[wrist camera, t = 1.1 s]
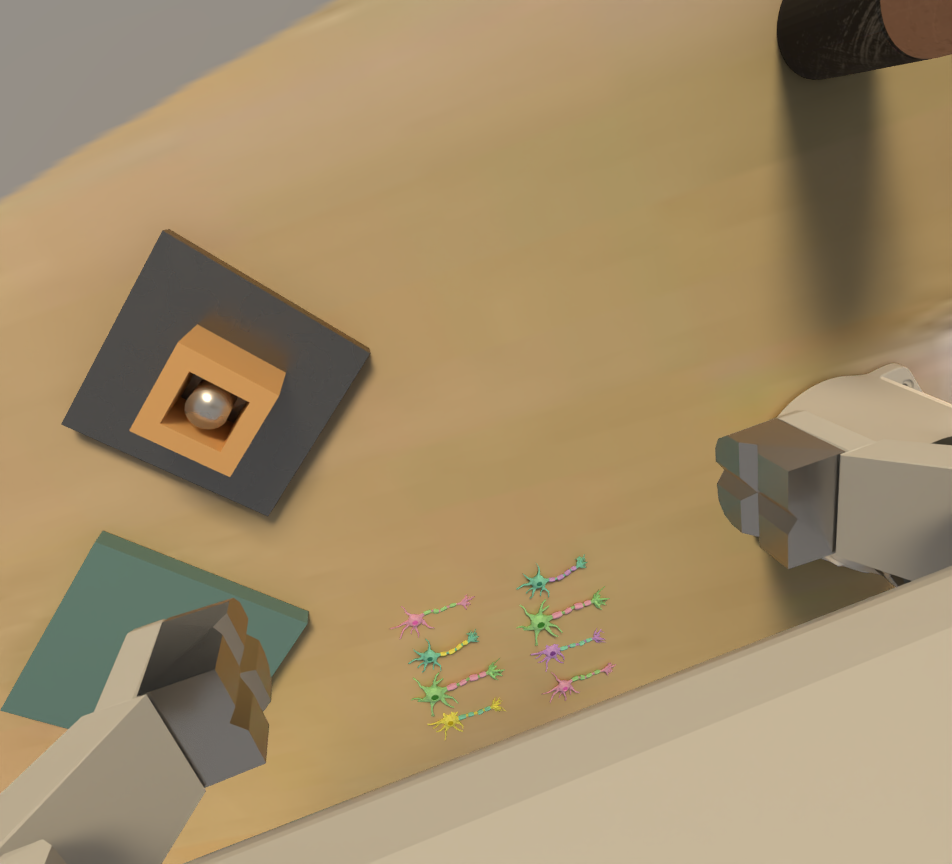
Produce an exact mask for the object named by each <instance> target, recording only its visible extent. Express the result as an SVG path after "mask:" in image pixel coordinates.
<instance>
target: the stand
mask: <svg viewBox="0 0 952 864" xmlns="http://www.w3.org/2000/svg"><path fill="white" fill-rule="evenodd" d="M197 324H198V325H199V326H201V327H203V328H205V329H207V330H209V331H210V332H212V333H214V334H216V335H218V336H219V337H221V338H223V339H225V340H227V341H229V342H230V343H232V344H234V345H236V346H238V347H240V348H241V349H243V350H245V351H247V352H249V353H251V354H252V355H254V356H256V357H258V358H260V359H262V360H263V361H265V362H267V363H269V364H271V365H273V366H274V367H276V368H278V369H280V370H282V371H284V372H285V373H286V374H285V377H284V381H283V384H282V388H281V391H280V395H279V397H278V398H277V400H276V402H275V403H274V405H273V407H272V408H271V410H270V412H269V413H268V415H267V417H266V418H265V420H264V422H263V423H262V425H261V427H260V428H259V430H258V432H257V433H256V435H255V437H254V438H253V440H252V442H251V443H250V445H249V447H248V448H247V450H246V452H245V453H244V455H243V457H242V458H241V460H240V462H239V463H238V465H237V467H236V468H235V470H234V472H233V473H232V475H231V477H228V476H226V475H224V474H222V473H220V472H217V471H215V470H213V469H211V468H209V467H207V466H204V465H202V464H200V463H198V462H196V461H194V460H191V459H189V458H187V457H185V456H183V455H180V454H178V453H176V452H174V451H172V450H170V449H167V448H165V447H163V446H161V445H159V444H157V443H154V442H152V441H150V440H148V439H146V438H143V437H141V436H139V435H137V434H135V433H133V432H130V431H129V430H130V428H131V426H132V424H133V423H134V421H135V419H136V417H137V415H138V414H139V412H140V410H141V408H142V406H143V404H144V403H145V401H146V399H147V397H148V395H149V394H150V392H151V390H152V388H153V386H154V385H155V383H156V381H157V379H158V377H159V375H160V374H161V372H162V370H163V368H164V366H165V365H166V363H167V361H168V359H169V357H170V356H171V354H172V352H173V350H174V348H175V346H176V345H177V343H178V342H179V341H180V340H181V339H182V338H183V337H184V336H185V335H186V334H187V333H188V332H190V331H191V330H192V329H193V328H194V327H195V326H196V325H197ZM369 355H370V350H369V348H368V347H366V346H365V345H363V344H361V343H360V342H358V341H356V340H355V339H353V338H351V337H349V336H348V335H346V334H344V333H343V332H341V331H339V330H338V329H336V328H334V327H333V326H331V325H329V324H328V323H326V322H324V321H323V320H321V319H319V318H318V317H316V316H314V315H313V314H311V313H309V312H307V311H306V310H304V309H302V308H301V307H299V306H297V305H296V304H294V303H292V302H291V301H289V300H287V299H286V298H284V297H282V296H281V295H279V294H277V293H276V292H274V291H272V290H270V289H269V288H267V287H265V286H264V285H262V284H260V283H259V282H257V281H255V280H254V279H252V278H250V277H249V276H247V275H245V274H244V273H242V272H240V271H239V270H237V269H235V268H234V267H232V266H230V265H228V264H227V263H225V262H223V261H222V260H220V259H218V258H217V257H215V256H213V255H212V254H210V253H208V252H207V251H205V250H203V249H202V248H200V247H198V246H197V245H195V244H193V243H192V242H190V241H188V240H186V239H185V238H183V237H181V236H180V235H178V234H176V233H175V232H173V231H171V230H170V229H168V230H163V231H162V233H161V235H160V237H159V238H158V240H157V242H156V244H155V246H154V248H153V250H152V252H151V254H150V256H149V258H148V259H147V261H146V263H145V265H144V267H143V269H142V271H141V273H140V275H139V277H138V279H137V280H136V282H135V284H134V286H133V288H132V290H131V292H130V294H129V296H128V298H127V300H126V302H125V303H124V305H123V307H122V309H121V311H120V313H119V315H118V317H117V319H116V321H115V323H114V324H113V326H112V328H111V330H110V332H109V334H108V336H107V338H106V340H105V342H104V344H103V345H102V347H101V349H100V351H99V353H98V355H97V357H96V359H95V361H94V363H93V365H92V366H91V368H90V370H89V372H88V374H87V376H86V378H85V380H84V382H83V384H82V386H81V387H80V389H79V391H78V393H77V395H76V397H75V399H74V401H73V403H72V405H71V407H70V408H69V410H68V412H67V414H66V416H65V418H64V420H63V422H62V425H64V426H66V427H68V428H71V429H73V430H75V431H77V432H80V433H82V434H84V435H86V436H89V437H91V438H93V439H95V440H98V441H100V442H102V443H104V444H107V445H109V446H111V447H113V448H116V449H118V450H120V451H122V452H125V453H127V454H129V455H131V456H134V457H136V458H138V459H140V460H143V461H145V462H147V463H149V464H152V465H154V466H156V467H158V468H161V469H163V470H165V471H167V472H170V473H172V474H174V475H176V476H179V477H181V478H183V479H185V480H188V481H190V482H192V483H194V484H197V485H199V486H201V487H203V488H206V489H208V490H210V491H212V492H215V493H217V494H219V495H221V496H224V497H226V498H228V499H230V500H233V501H235V502H237V503H239V504H241V505H244V506H246V507H248V508H250V509H253V510H255V511H257V512H259V513H262V514H264V515H266V516H269V514H270V512H271V511H272V509H273V508H274V506H275V504H276V503H277V501H278V500H279V498H280V497H281V495H282V493H283V492H284V490H285V489H286V487H287V485H288V484H289V482H290V481H291V479H292V477H293V476H294V474H295V473H296V471H297V469H298V468H299V466H300V465H301V463H302V461H303V460H304V458H305V457H306V455H307V453H308V452H309V450H310V449H311V447H312V445H313V444H314V442H315V441H316V439H317V437H318V436H319V434H320V433H321V431H322V430H323V428H324V426H325V425H326V423H327V422H328V420H329V418H330V417H331V415H332V414H333V412H334V410H335V409H336V407H337V406H338V404H339V402H340V401H341V399H342V398H343V396H344V394H345V393H346V391H347V390H348V388H349V386H350V385H351V383H352V382H353V380H354V378H355V377H356V375H357V374H358V372H359V370H360V369H361V367H362V366H363V364H364V363H365V361H366V359H367V358H368V356H369ZM181 397H182V398H184V399H186V400H187V401H186V403H185V414H186V416H187V418H188V420H189V421H190V422H191V423H192V424H193V425H195V426H197V427H199V428H202V429H215V428H218V427H220V426H221V425H223V424H224V423H225V422H226V420H228V421H230V422H232V423H234V422H235V420H236V418H237V417H238V415H239V413H240V412H241V410H242V408H243V407H244V405H245V403H246V402H247V401H246V400H244V399H242V398H240V397H238V396H236V395H234V394H232V393H230V392H228V391H226V390H224V389H222V388H221V387H219V386H217V385H215V384H213V383H211V382H209V381H207V380H205V379H203V378H201V377H199V376H197V375H195V374H193V376H192V378H191V379H190V381H189V383H188V385H187V386H186V388H185V390H184V392H183V394H182V395H181Z"/></svg>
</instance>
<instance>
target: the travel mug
mask: <svg viewBox="0 0 952 864" xmlns="http://www.w3.org/2000/svg"><path fill="white" fill-rule="evenodd" d="M777 32H778V41H779V47H780V50H781V53H782V55H783V58H784V60H785V61H786V63H787V65H788V66H789V67H790V68H791V69H792V70H793V71H794V72H795V73H797V74H798V75H800V76H802V77H805V78H808V79H818V80H819V79H827V78H833V77H839V76H844V75H849V74H855V73H860V72H865V71H870V70H876V69H881V68H886V67H891V66H896V65H902V64H907V63H912V62H917V61H923V60H928V59H932V58H938V57H942V56H946V55H950V54H952V0H783V1H782V4H781V7H780V11H779V17H778V29H777Z"/></svg>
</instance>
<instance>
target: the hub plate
mask: <svg viewBox="0 0 952 864" xmlns="http://www.w3.org/2000/svg"><path fill="white" fill-rule="evenodd" d="M231 598H235V599H236V600H238V601H239V602H240V603H241V605H242V607H243V609H244V611H245V613H246V615H247V617H248V625H247V632H246V634H247V635H249V636H251V637H253V638H255V639H257V640H259V641H260V643H261V645H262V648H263V650H264V652H265V655H266V658H267V661H268V664H269V668H270V675H271V677H272V676H273V674H274V673H275V671H276V670H277V668H278V667H279V665H280V664H281V662H282V661H283V659H284V658H285V656H286V655H287V653H288V652H289V650H290V649H291V648H292V646H293V645H294V643H295V642H296V640H297V639H298V637H299V636H300V634H301V633H302V631H303V630H304V628H305V627H306V625H307V624H308V611H306V610H304V609H301V608H298V607H296V606H293V605H291V604H288V603H286V602H283V601H281V600H278V599H276V598H273V597H270V596H268V595H265V594H263V593H260V592H258V591H255V590H253V589H250V588H248V587H245V586H242V585H240V584H237V583H235V582H232V581H230V580H227V579H225V578H222V577H220V576H217V575H214V574H212V573H209V572H207V571H204V570H202V569H199V568H197V567H194V566H192V565H189V564H186V563H184V562H181V561H179V560H176V559H174V558H171V557H169V556H166V555H164V554H161V553H158V552H156V551H153V550H151V549H148V548H146V547H143V546H141V545H138V544H136V543H133V542H130V541H128V540H125V539H123V538H120V537H118V536H115V535H113V534H110V533H108V532H105V531H102V533H101V534H100V536H99V537H98V539H97V540H96V541H95V543H94V545H93V547H92V548H91V550H90V552H89V554H88V555H87V557H86V559H85V561H84V563H83V564H82V566H81V568H80V570H79V571H78V573H77V575H76V577H75V579H74V580H73V582H72V584H71V586H70V587H69V589H68V591H67V593H66V595H65V596H64V598H63V600H62V602H61V603H60V605H59V607H58V609H57V611H56V612H55V614H54V616H53V618H52V619H51V621H50V623H49V625H48V627H47V628H46V630H45V632H44V634H43V635H42V637H41V639H40V641H39V643H38V644H37V646H36V648H35V650H34V651H33V653H32V655H31V657H30V659H29V660H28V662H27V664H26V666H25V667H24V669H23V671H22V673H21V675H20V676H19V678H18V680H17V682H16V683H15V685H14V687H13V689H12V691H11V692H10V694H9V696H8V698H7V699H6V701H5V703H4V705H3V707H2V708H1V710H0V711H4V712H8V713H11V714H15V715H19V716H22V717H26V718H30V719H34V720H37V721H41V722H45V723H48V724H52V725H56V726H60V727H63V728H67V729H69V728H70V727H71V726H72V725H73V724H74V723H76V722H77V721H78V720H79V719H80V718H81V717H82V716H85V715H87V714H90V713H93V712H94V710H95V708H96V705H97V703H98V701H99V698H100V696H101V694H102V691H103V689H104V687H105V684H106V682H107V679H108V677H109V675H110V672H111V670H112V668H113V665H114V663H115V661H116V658H117V656H118V654H119V651H120V649H121V646H122V644H123V642H124V639H125V637H126V635H127V633H129V632H130V631H132V630H134V629H136V628H139V627H142V626H145V625H147V624H150V623H153V622H156V621H159V620H162V619H168V618H169V617H173V616H176V615H179V614H182V613H186V612H189V611H192V610H195V609H198V608H202V607H205V606H208V605H211V604H215V603H218V602H221V601H224V600H228V599H231Z"/></svg>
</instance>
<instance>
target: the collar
mask: <svg viewBox="0 0 952 864" xmlns="http://www.w3.org/2000/svg"><path fill="white" fill-rule="evenodd" d="M193 374H195V375H197V376H199V377H201V378H203V379H205V380H207V381H209V382H211V383H213V384H215V385H217V386H219V387H221V388H222V389H224V390H226V391H228V392H230V393H232V394H234V395H236V396H238V397H240V398H242V399H244V400H246V401H247V402H246V403H245V405H244V407H243V408H242V410H241V412H240V413H239V415H238V417H237V418H236V420H235V422H234V423H232V422H230V421H228V420H226V422H225V423H224V424H223V425H221V426H220V427H218V428H215V429H202V428H199V427H197V426H195V425H193V424H192V423H191V422H190V421H189V420H188V418H187V416H186V414H185V403H186V401H187V400H186V399H184V398H182V397H181V395H182V394H183V392H184V390H185V388H186V386H187V385H188V383H189V381H190V379H191V378H192V376H193ZM285 374H286V373H285V372H284V371H282V370H280V369H278V368H276V367H274V366H273V365H271V364H269V363H267V362H265V361H263V360H262V359H260V358H258V357H256V356H254V355H252V354H251V353H249V352H247V351H245V350H243V349H241V348H240V347H238V346H236V345H234V344H232V343H230V342H229V341H227V340H225V339H223V338H221V337H219V336H218V335H216V334H214V333H212V332H210V331H209V330H207V329H205V328H203V327H201V326H199V325H198V324H197V325H196V326H195V327H194V328H193V329H192V330H191V331H190V332H188V333H187V334H186V335H185V336H184V337H183V338H182V339H181V340H180V341H179V342H178V343H177V345H176V346H175V348H174V350H173V352H172V354H171V356H170V357H169V359H168V361H167V363H166V365H165V366H164V368H163V370H162V372H161V374H160V375H159V377H158V379H157V381H156V383H155V385H154V386H153V388H152V390H151V392H150V394H149V395H148V397H147V399H146V401H145V403H144V404H143V406H142V408H141V410H140V412H139V414H138V415H137V417H136V419H135V421H134V423H133V424H132V426H131V428H130V430H129V431H130V432H133V433H135V434H137V435H139V436H141V437H143V438H146V439H148V440H150V441H152V442H154V443H157V444H159V445H161V446H163V447H165V448H167V449H170V450H172V451H174V452H176V453H178V454H180V455H183V456H185V457H187V458H189V459H191V460H194V461H196V462H198V463H200V464H202V465H204V466H207V467H209V468H211V469H213V470H215V471H217V472H220V473H222V474H224V475H226V476H228V477H231V475H232V473H233V472H234V470H235V468H236V467H237V465H238V463H239V462H240V460H241V458H242V457H243V455H244V453H245V452H246V450H247V448H248V447H249V445H250V443H251V442H252V440H253V438H254V437H255V435H256V433H257V432H258V430H259V428H260V427H261V425H262V423H263V422H264V420H265V418H266V417H267V415H268V413H269V412H270V410H271V408H272V407H273V405H274V403H275V402H276V400H277V398H278V397H279V395H280V391H281V388H282V384H283V381H284V377H285Z"/></svg>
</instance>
